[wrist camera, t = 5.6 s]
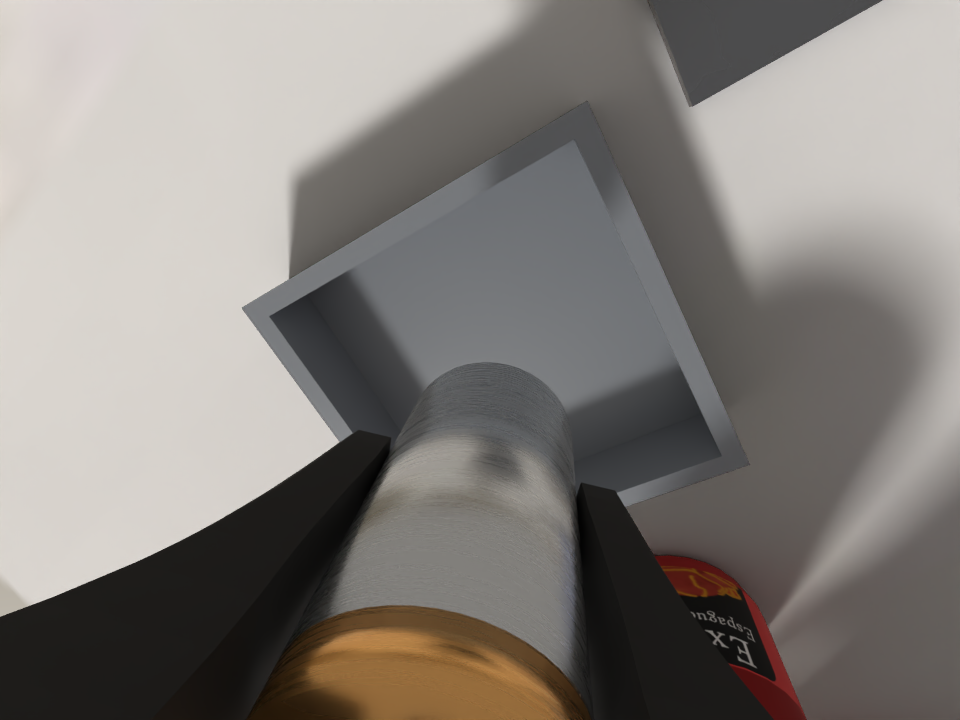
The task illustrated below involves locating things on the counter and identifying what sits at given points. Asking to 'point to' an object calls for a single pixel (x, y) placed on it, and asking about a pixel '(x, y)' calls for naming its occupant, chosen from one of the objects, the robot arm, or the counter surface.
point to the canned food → (735, 631)
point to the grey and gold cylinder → (453, 572)
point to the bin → (515, 314)
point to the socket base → (740, 36)
